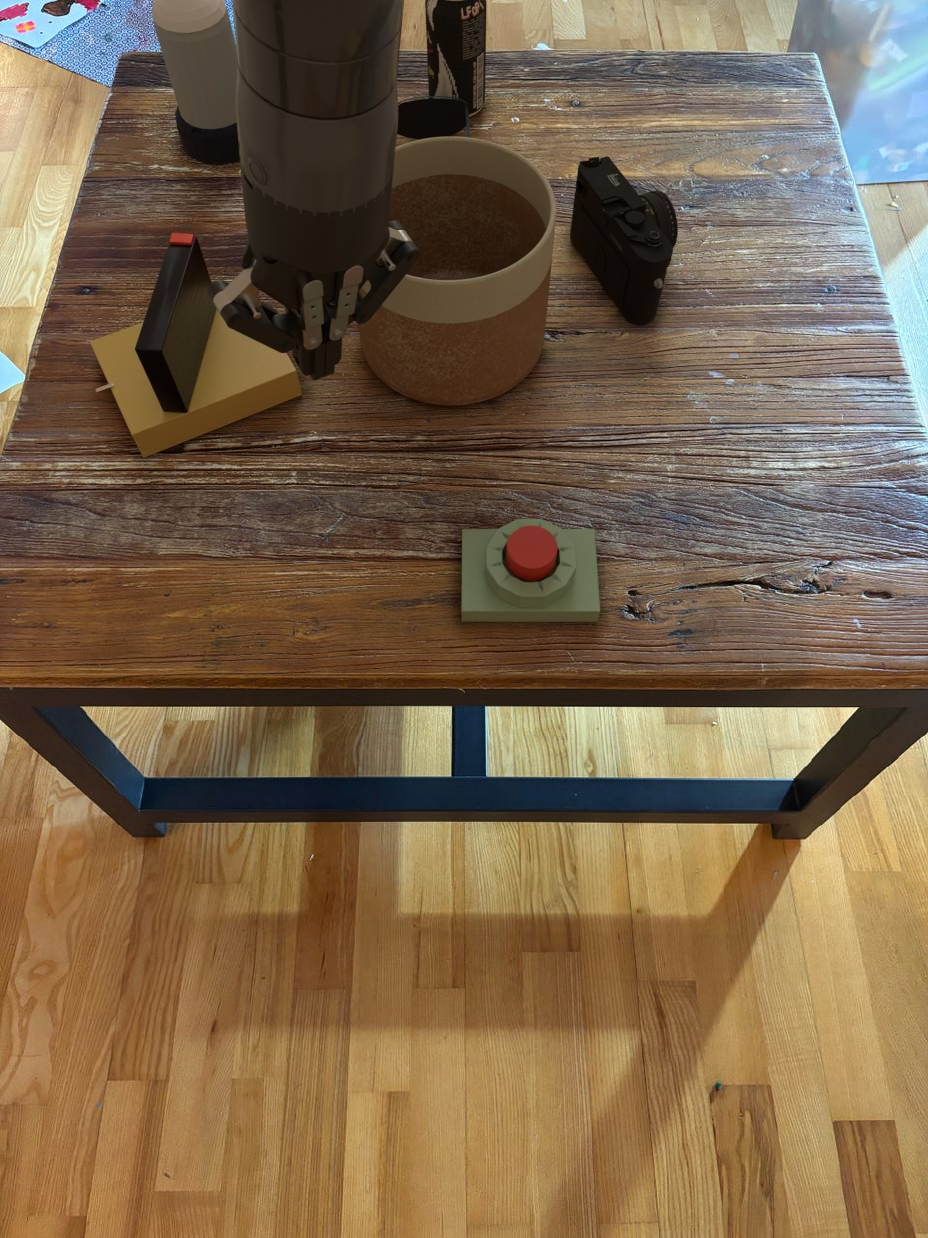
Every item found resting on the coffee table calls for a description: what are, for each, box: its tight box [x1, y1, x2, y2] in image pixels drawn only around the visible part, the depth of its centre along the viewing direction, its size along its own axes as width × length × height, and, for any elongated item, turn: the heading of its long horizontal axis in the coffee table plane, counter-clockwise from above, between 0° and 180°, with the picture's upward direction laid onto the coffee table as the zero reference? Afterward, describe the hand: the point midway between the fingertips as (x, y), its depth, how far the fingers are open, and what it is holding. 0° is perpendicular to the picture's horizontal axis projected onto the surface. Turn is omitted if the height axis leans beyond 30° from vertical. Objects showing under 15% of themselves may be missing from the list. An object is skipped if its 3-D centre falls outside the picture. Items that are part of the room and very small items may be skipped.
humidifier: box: [151, 0, 240, 165], centre depth 81 cm, size 8×8×25 cm
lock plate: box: [89, 308, 303, 459], centre depth 77 cm, size 16×11×3 cm
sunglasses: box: [397, 95, 472, 140], centre depth 87 cm, size 17×15×5 cm
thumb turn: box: [135, 232, 216, 413], centre depth 72 cm, size 12×2×7 cm, turn 175°
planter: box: [357, 136, 557, 406], centre depth 74 cm, size 16×16×14 cm
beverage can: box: [424, 0, 488, 118], centre depth 89 cm, size 6×6×12 cm
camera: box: [569, 155, 679, 325], centre depth 80 cm, size 14×7×8 cm, turn 24°
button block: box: [460, 518, 601, 623], centre depth 68 cm, size 10×7×4 cm
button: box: [506, 526, 558, 581], centre depth 66 cm, size 4×4×2 cm
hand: (316, 367), depth 61 cm, fingers closed
